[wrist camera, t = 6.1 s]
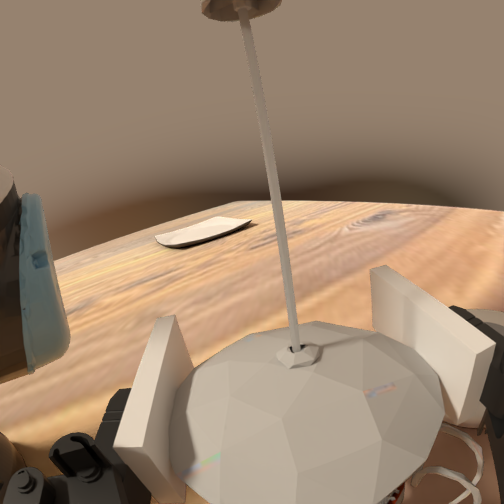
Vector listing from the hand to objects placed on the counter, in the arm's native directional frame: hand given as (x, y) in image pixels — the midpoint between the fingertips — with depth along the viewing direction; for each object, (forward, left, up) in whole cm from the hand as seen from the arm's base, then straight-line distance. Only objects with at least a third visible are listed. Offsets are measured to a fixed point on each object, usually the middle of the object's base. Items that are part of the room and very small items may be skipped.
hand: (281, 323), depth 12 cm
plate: (-87, +36, -15) cm, 95 cm away
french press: (+4, -2, -14) cm, 15 cm away
